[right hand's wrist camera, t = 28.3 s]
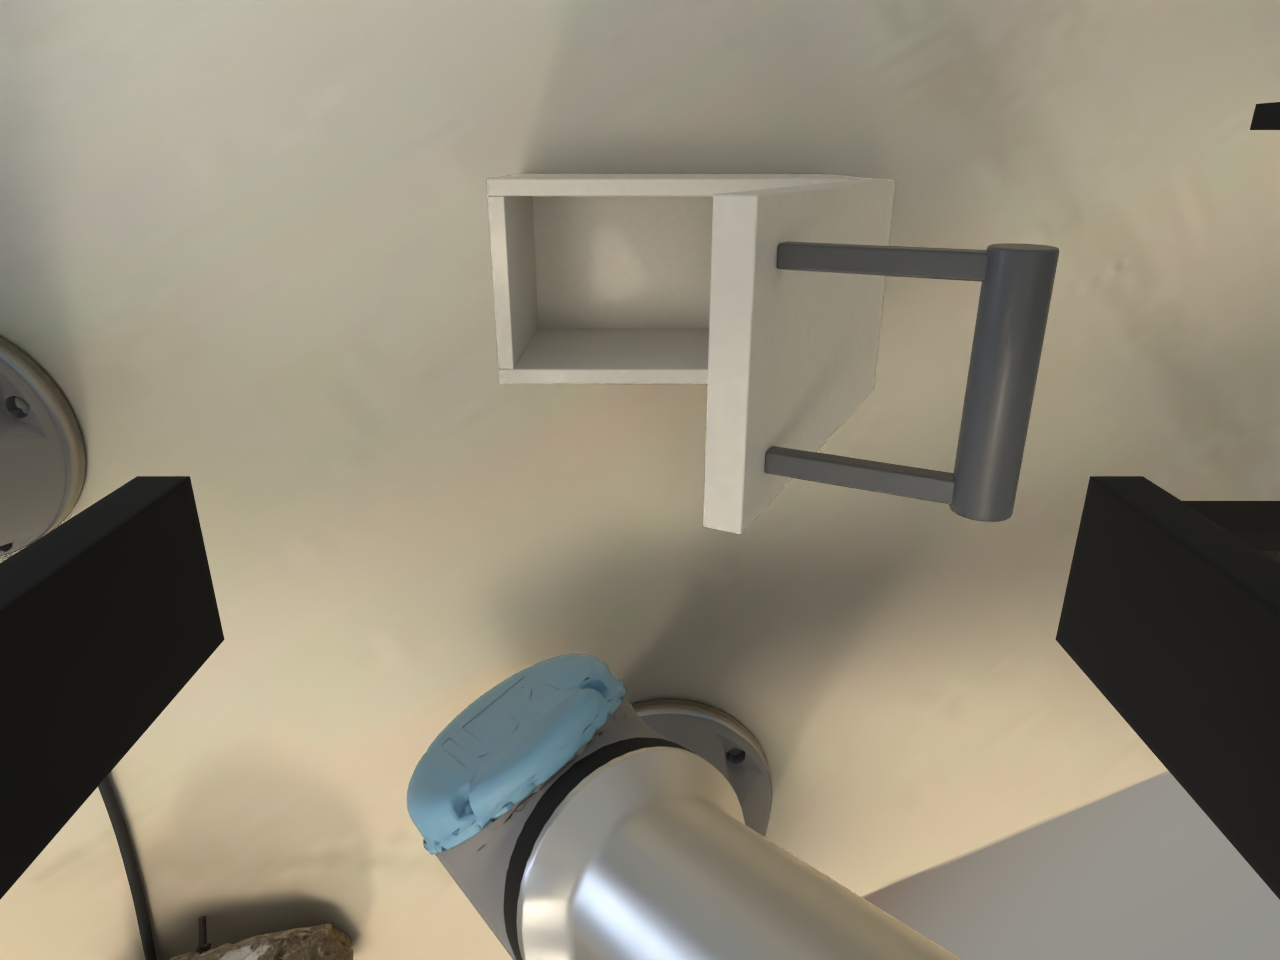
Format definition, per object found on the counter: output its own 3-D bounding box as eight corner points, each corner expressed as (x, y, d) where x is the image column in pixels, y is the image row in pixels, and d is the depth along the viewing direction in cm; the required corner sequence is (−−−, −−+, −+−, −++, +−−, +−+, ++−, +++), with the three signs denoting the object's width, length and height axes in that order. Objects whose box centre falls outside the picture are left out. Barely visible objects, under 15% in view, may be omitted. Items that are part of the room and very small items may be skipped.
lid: (702, 527, 24) (998, 587, 21) (712, 193, 21) (1067, 201, 18) (848, 386, 39) (1034, 408, 36) (867, 178, 36) (1076, 181, 33)
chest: (527, 338, 50) (498, 384, 40) (519, 173, 46) (486, 178, 36) (813, 338, 50) (857, 384, 40) (826, 173, 46) (877, 178, 36)
